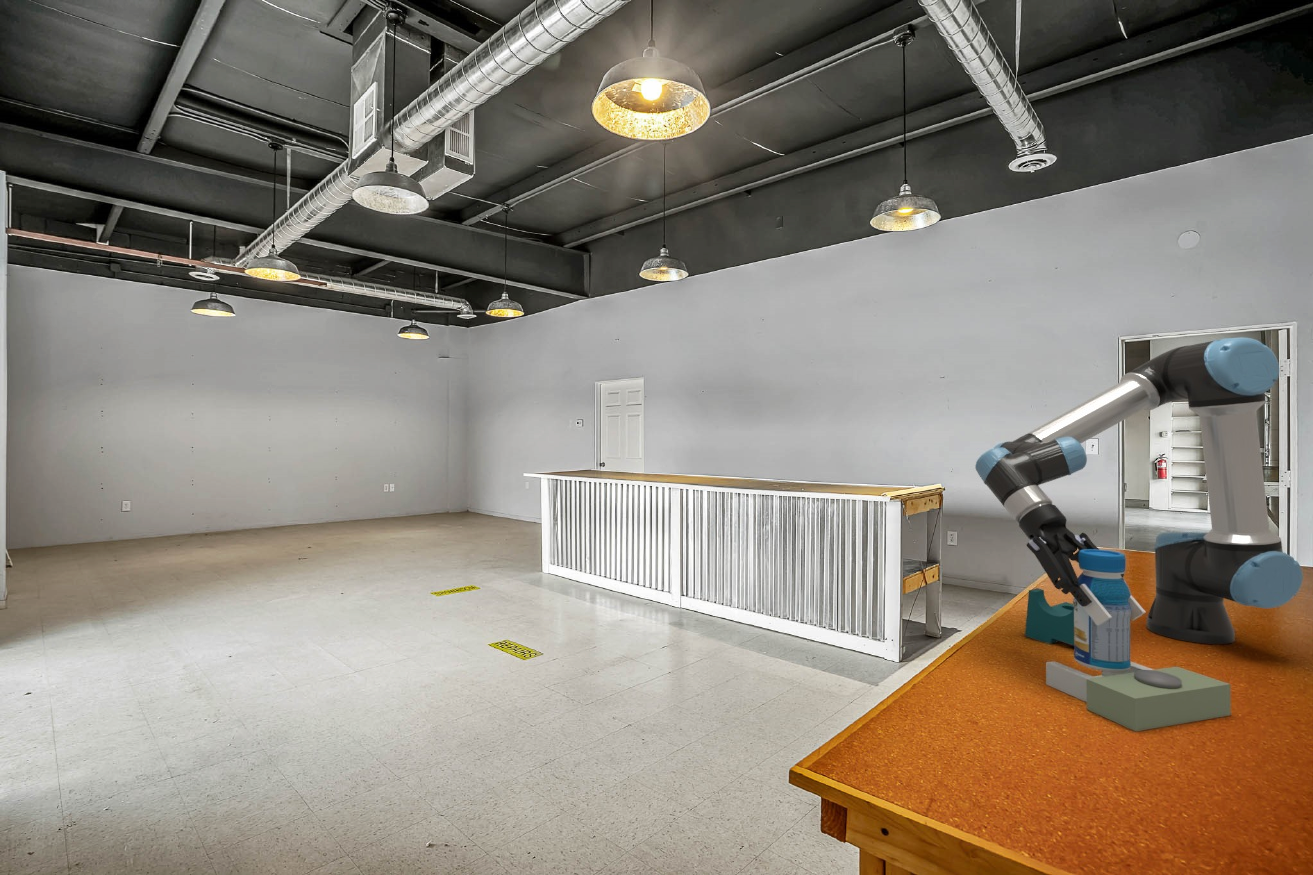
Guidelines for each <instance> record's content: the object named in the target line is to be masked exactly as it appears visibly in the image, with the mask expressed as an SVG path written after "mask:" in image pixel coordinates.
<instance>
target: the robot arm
mask: <svg viewBox="0 0 1313 875" xmlns="http://www.w3.org/2000/svg"><path fill="white" fill-rule="evenodd" d="M1279 376H1280V364H1279V360H1278V358H1277V356H1276V354H1275V353H1274V351H1273V350H1272V349H1271V348H1270V347H1268V346H1267V345H1265V344H1263V343H1262V342H1261V341H1260V340H1257V339H1254V338H1250V337H1245V336H1244V337H1243V336H1240V337H1230V338H1229V337H1227V338H1225V337H1224V338H1220V339H1216V340H1212V341H1207V342H1206V341H1205V342H1201V343H1196V344H1195V343H1194V344H1190V345H1189V344H1188V345H1184V346H1178V347H1175V348H1172V349H1170V350H1168V351H1166V352H1163V353H1161V354H1159V355H1158V356H1155V357H1154V358H1151V359H1150V360H1147V361H1146V362H1144V363H1143V364H1141V365H1139V366H1137V367H1136V368H1134V369H1131V371H1129V372H1127V373H1125V374H1123V375H1122V376H1121V378H1120V382H1119V383H1116V384H1114V385H1113V386H1111V387H1109V388H1108V389H1106V390H1104V391H1102V392H1100V393H1099V394H1096V395H1095V396H1093V397H1091V398H1089V399H1087V400H1086V401H1084V402H1082V403H1080V404H1078V405H1077V406H1075V407H1072V408H1071V409H1070V410H1068V411H1065V412H1064V413H1062V414H1060V415H1059V416H1057V417H1055V418H1053V419H1051V420H1050V421H1048V422H1046V423H1044V424H1042V425H1041V426H1039V427H1037V428H1034V429H1033V430H1031V431H1029V432H1028V433H1026V434H1024V435H1021V436H1020V437H1018V438H1017V439H1015V440H1012V441H1004V442H1000V443H998V444H996V445H995V446H994V447H993V448H991V449H989V450H987V451H985V452H983V453H982V454H981V455H980V456H979V458H977V460H976V461H975V468H974V469H975V471H976V472H977V474H978V476H979V478H980V479H981V480H982V482H983V484H984V485H986V486H987V488H989V490H990V491H991V492H992V494H993V495H994V496H995V497H996V498H997V500H998V501H999V503H1000V504H1001V506H1003V507H1004V508H1005V509H1006V510H1007V513H1009V515H1010V517H1011V518H1012V519H1013V520H1014V522H1016V523H1017V524H1018V526H1019V528H1020V530H1021V531H1022V532H1023V533H1024V534H1025V535H1026V537H1027V538H1028V540H1029V541H1028V542H1027V543H1026V547H1027V548H1028V549H1029V550H1030V551H1031V553H1033V554H1034V556H1035V557H1036V559H1037V561H1038V563H1040V565H1041V567H1042V569H1043V570H1044V572H1045V574H1046V575H1047V577H1048V578H1049V579H1050V582H1051V583H1052V585H1053V586H1054V588H1056V590H1060V591H1061V593H1062V594H1064V595H1068V594H1069V593H1070V594H1071V596H1073V599H1074V598H1075V599H1076V600H1077V602H1078V603H1079V604H1080V605H1081V606H1082V607H1083V608H1084V609H1085V611H1086V612H1087V613H1088V614H1089V616H1090V617H1091V618H1092V620H1093V621H1094V622H1095V623H1096V625H1097V626H1099V625H1102V624H1103V623H1104V622H1106V621H1107V620H1109V619H1110V618H1112V617H1111V615H1110V614H1109V613H1108V612H1107V610H1106V609H1105V608H1104V607H1103V606H1102V604H1101V603H1100V602H1099V601H1098V599H1097V598H1096V597H1095V596H1094V594H1093V593H1092V592H1091V591H1090V590H1089V588H1088V587H1087V586H1086V585H1085V584H1081V585H1080V586H1079V584H1080V582H1079V580H1078V576H1077V574H1076V571H1075V569H1074V567H1073V565H1072V563H1071V561H1075V562H1076V563H1077V564H1079V551H1080V550H1084V549H1098V550H1100V548H1098V546H1097V545H1095V544H1094V543H1093V541H1092V540H1091V538H1089V536H1088V535H1087V533H1085V532H1081V533H1080V534H1078V535H1077V534H1075V533H1074V532H1072V531H1071V530H1069V529H1068V528H1067V520H1068V519H1067V517H1066V516H1065V515H1064V514H1063V513H1062V511H1061V510H1060V509H1059V507H1058V506H1056V505H1055V504H1053V500H1052V499H1051V498H1050V497H1049V496H1048V495H1047V494H1046V493H1045V492H1044V490H1043V489H1042V488H1041V487H1040V485H1043V484H1046V483H1049V482H1051V481H1054V480H1055V481H1056V480H1057V479H1061V478H1063V477H1066V476H1072V475H1073V474H1075V473H1077V472H1079V471H1082V470H1083V469H1084V468H1085V467H1086V465H1087V461H1088V460H1087V459H1088V457H1087V454H1086V452H1085V448H1084V446H1083V445H1082V443H1084V442H1086V441H1088V440H1090V439H1091V438H1093V437H1095V436H1097V435H1099V434H1101V433H1102V432H1104V431H1107V430H1109V429H1110V428H1112V427H1113V426H1115V425H1118V424H1119V423H1121V422H1123V421H1124V420H1126V419H1128V418H1130V417H1132V416H1134V415H1136V414H1137V413H1139V412H1141V411H1143V410H1144V411H1152V410H1155V409H1157V408H1159V407H1160V406H1163V405H1165V404H1169V403H1173V402H1177V401H1183V400H1187V403H1188V410H1191V411H1192V412H1193V413H1194V414H1196V415H1198V416H1199V424H1200V425H1199V426H1200V433H1201V434H1200V435H1201V441H1202V443H1201V444H1202V449H1203V450H1202V451H1203V458H1204V470H1205V476H1206V478H1205V479H1206V485H1207V487H1206V488H1207V496H1208V504H1209V505H1208V506H1209V514H1210V524H1211V529H1210V531H1209V532H1197V531H1196V532H1189V531H1188V532H1187V531H1186V532H1183V531H1182V532H1181V531H1180V532H1174V531H1173V532H1171V531H1170V532H1169V531H1168V532H1161V533H1159V534H1157V536H1156V538H1155V546H1154V558H1155V559H1154V560H1155V562H1154V564H1155V565H1154V566H1155V597H1154V599H1153V601H1152V605H1151V606H1150V608H1149V612H1148V614H1147V616H1146V628H1147V630H1149V631H1150V632H1152V633H1155V634H1157V635H1159V636H1163V637H1167V638H1170V639H1175V640H1178V641H1179V640H1180V641H1185V642H1191V643H1199V644H1206V645H1207V644H1208V645H1209V644H1210V645H1211V644H1212V645H1226V644H1227V645H1228V644H1232V643H1234V642H1235V638H1236V635H1235V634H1236V632H1235V629H1234V627H1233V623H1232V621H1231V619H1230V616H1229V614H1228V612H1227V611H1228V610H1226V606H1225V604H1224V599H1226V600H1229V601H1231V602H1235V603H1238V604H1240V605H1242V606H1248V607H1255V608H1260V609H1274V608H1278V607H1281V606H1284V605H1286V604H1287V603H1289V602H1290V601H1291V600H1292V598H1293V597H1295V596H1296V595H1297V594H1298V593H1299V591H1300V589H1301V588H1302V584H1303V579H1304V576H1303V575H1304V574H1303V570H1302V566H1301V565H1300V563H1299V562H1298V561H1297V560H1295V558H1294V557H1293V556H1291V555H1290V554H1288V553H1286V552H1284V551H1283V543H1282V538H1281V537H1280V536H1279V535H1277V534H1276V533H1274V532H1273V531H1271V529H1270V524H1269V522H1270V521H1269V514H1268V506H1267V505H1268V504H1267V497H1266V496H1267V495H1266V488H1265V478H1264V471H1263V462H1262V453H1261V444H1260V434H1259V427H1258V418H1257V411H1258V410H1259V409H1260V408H1261V407H1262V406H1263V405H1264V404H1265V403H1266V392H1267V391H1269V390H1270V389H1272V388H1273V387H1274V386H1275V382H1277V381H1278V379H1279ZM1120 575H1121V577H1122V578H1123V579H1124V576H1125V573H1124V574H1120ZM1128 601H1129V603H1130V605H1131V608H1132V613H1131V621H1135V620H1136V619H1138V618H1140V617H1141V616H1142V615H1144V614H1145V613H1147V612H1146V610H1145V609H1144V608H1143V607H1142V605H1140V603H1139V602H1138V601H1137V600H1136V598H1134V596H1133V595H1132V594H1131V596H1130V598H1129V599H1128Z"/></svg>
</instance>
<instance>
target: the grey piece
mask: <svg viewBox="0 0 1313 875" xmlns="http://www.w3.org/2000/svg"><path fill="white" fill-rule="evenodd" d="M1045 664H1046V665H1045V680H1046V681H1045V685H1047V686H1049V687H1051V688H1053V689H1056V690H1058V691H1061V692H1063V693H1065V694H1066V695H1070V696H1071V697H1074V698H1076V699H1078V700H1080V701H1083V702H1085V703H1086V710H1087V711H1090V712H1092V713H1094V714H1096V715H1098V716H1101V717H1102V718H1105V719H1108V720H1110V721H1112V722H1114V723H1115V724H1116V723H1117V724H1118V725H1120V726H1123V727H1125V728H1127V729H1129V730H1131V731H1133V732H1140V731H1146V730H1152V729H1157V728H1164V727H1169V726H1176V725H1183V724H1187V723H1194V722H1199V721H1206V720H1209V719H1210V720H1212V719H1217V718H1222V717H1229V716H1231V715H1232V711H1231V710H1232V709H1231V708H1232V706H1231V703H1232V702H1231V701H1232V700H1231V699H1232V698H1231V696H1232V695H1231V694H1232V693H1231V690H1232V689H1231V683H1228V682H1225V681H1222V680H1219V679H1216V678H1213V677H1210V676H1207V675H1204V674H1201V673H1198V672H1195V671H1192V670H1188V669H1185V668H1183V667H1179V666H1173V667H1172V666H1171V667H1163V668H1156V669H1154V668H1150V667H1148V666H1145V665H1142V664H1140V663H1136V662H1133V661H1131V667H1130V669H1129V670H1128V671H1125V672H1105V671H1101V675H1100V674H1099V675H1091V674H1088V673H1085V672H1084V671H1081V670H1078V669H1076V668H1073V667H1071V666H1068V665H1065V664H1063V663H1060V662H1057V661H1047V662H1046V663H1045Z"/></svg>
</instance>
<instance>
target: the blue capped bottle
mask: <svg viewBox="0 0 1313 875" xmlns="http://www.w3.org/2000/svg"><path fill="white" fill-rule="evenodd" d="M1098 549H1099V548H1098ZM1098 549H1084V550H1080V551H1079V550H1078V551H1079V563H1078V567H1079V569H1080V570H1082V572H1081V573H1080V574H1079V575H1078V576H1077V578H1078V580H1079V582H1080V584H1079V586H1080V585H1081V584H1085V585H1086V586H1087V587H1088V588H1089V590H1090V591H1091V592H1092V593H1093V594H1094V596H1095V597H1096V598H1097V599H1098V601H1099V602H1100V603H1101V604H1102V606H1103V607H1104V608H1105V609H1106V610H1107V612H1108V613H1109V614H1110V615H1111V617H1112V618H1110V619H1109V620H1107V621H1106V622H1104V623H1103V624H1102V625H1099V626H1097V625H1096V623H1095V622H1094V621H1093V620H1092V618H1091V617H1090V616H1089V614H1088V613H1087V612H1086V611H1085V609H1084V608H1083V607H1082V606H1081V605H1080V604H1079V603H1078V602H1077V600H1076V599H1075V598H1074V597H1073V598H1072V604H1073V607H1074V646H1073V648H1074V650H1073V658H1074V660H1075V662H1077V663H1078V664H1079V665H1081V666H1083V667H1086V668H1089V669H1090V670H1096V671H1100V672H1102V671H1105V672H1125V671H1128V670H1129V669H1130V667H1131V662H1132V661H1131V613H1132V608H1131V605H1130V603H1129V601H1128V599H1129V598H1130V596H1131V595H1132V592H1131V590H1130V587H1129V585H1128V584H1127V582H1126V580H1125V579H1124V577H1123V578H1122V577H1121V575H1120V574H1124V575H1125V572H1126V567H1127V566H1126V563H1127V562H1126V555H1125V554H1124V553H1122V552H1119V551H1113V550H1107V549H1099V550H1098Z"/></svg>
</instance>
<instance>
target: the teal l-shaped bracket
mask: <svg viewBox="0 0 1313 875" xmlns="http://www.w3.org/2000/svg"><path fill="white" fill-rule="evenodd" d="M1027 596H1028V597H1027V608H1026V609H1027V611H1026V617H1025V618H1026V620H1025V632H1024V637H1027V638H1030V639H1033V640H1036V641H1039V642H1041V643H1046V644H1050V645H1052V644H1055V643H1057V642H1062V643H1064V644H1065V643H1066V644H1068V645H1071V646H1073V647H1074V607H1073V603H1071V602H1068V601H1065V602H1062V603H1058V604H1055V605H1050V604H1049V603H1048V601H1047V599H1046V597H1045V589H1041V588H1038V587H1037V588H1033V589H1028V595H1027Z"/></svg>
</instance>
